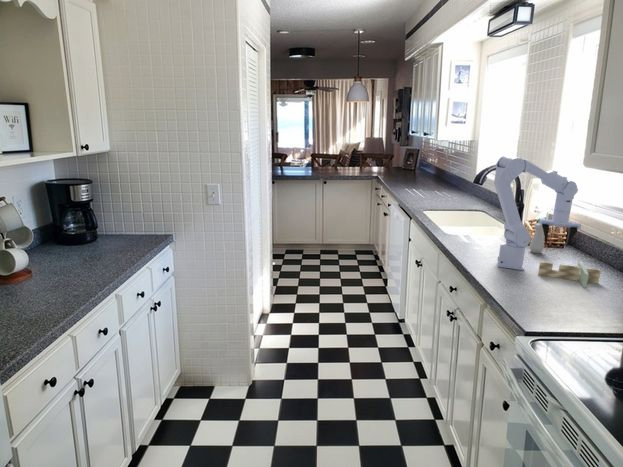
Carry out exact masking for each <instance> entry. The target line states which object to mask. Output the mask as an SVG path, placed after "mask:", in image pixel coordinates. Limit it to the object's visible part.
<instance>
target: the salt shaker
mask: <svg viewBox="0 0 623 467" xmlns="http://www.w3.org/2000/svg"><path fill="white" fill-rule="evenodd" d="M534 229H535V231H534V233H533V235H532V237H531V240H530V243H529V246H528V247H529V250H530V253H532V254H538V255H540V254H541V253H542V252H543V251H544V248H545V237H544V231H543V227H542V225H539V223H535V224H534Z"/></svg>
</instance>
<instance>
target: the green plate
mask: <svg viewBox="0 0 623 467" xmlns="http://www.w3.org/2000/svg"><path fill="white" fill-rule="evenodd" d="M577 267H580V271H579V273H580V274H581V277H580V281H579V282H580V285H581V287H582V288H585V289H586V288H587V285H588V282H587V281H588V276H589V274H588V272H587V267H586V266H585V265H584V262H583V261H578V262H577Z"/></svg>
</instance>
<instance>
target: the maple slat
mask: <svg viewBox="0 0 623 467" xmlns="http://www.w3.org/2000/svg"><path fill="white" fill-rule="evenodd" d="M553 266H554V264H553V262H547V261H539V267H538V271H537V272H538V273H537V275H538V276H543V277H544V276H545V277H550V278H558V279H565V280H571V281H577V282H580V277H581V274H580V273H579V271H580V267H578V265H577V266H576V265H569V264H563V263H562V264H559V266H558V269H553V268H554V267H553ZM586 270H587V272H588V274H589V276H588V281H587V283H591V284H599V281H600V277H601V271H602V270H601V269H599V268H598V269H597V268H589V267H586Z"/></svg>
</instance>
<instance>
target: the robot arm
mask: <svg viewBox="0 0 623 467" xmlns="http://www.w3.org/2000/svg"><path fill="white" fill-rule="evenodd" d="M495 163H496V164H495V165H494V166H495V169H496V170H495V176H494V181H493V182H494V183H493V185H494V187H495V190H496V194H497V197H498V200H499V203H500V207H501V210H502V211H501V212H502V214H503V217H504V221H505V223H504V225H503V228H504V232H503V233H504V234H503V236H504V239H505V242H504V243H503V242H502V243H500V247H499V253H498V256H497V259H496V260H497V268H498V267H499V268H505V269H506V268H507V269H512V270H513V269H514V270H519V271H520V270H521V271H524V270H525V267H524V259H525V253H526V248H527V246H528V245H530V243H531V241H532V236H531V234H530V232H529V231H528V230H527V227H526V226H525V224H524V223H523V222H522V220H521V217H520V213H519V210H518V205H517V202H516V199H515V196H514V192H513V189H512V185H511V184H512V183H513V181H514V180H515V179H517V177H518V176H520V175H521V174H522V173H524V174H525V173H528V174H530V175H532V176H534V177H536V178H538V179H540V181H541V184H542V185H544V186H545V187H548V188H550V189H552V190H553V191H554V192H555V193H556V196H555V203H554V208H553V214H552V219H545V218H544V219H543V218H540V219H539V225H542V227H543V234H544V244H547V243H548V236H549V233H550V232H549V231H550V226H552V227H553V226H554V227H561V228H568V231H567V237H566V241H565V246H566V247H569V245H570V243H571V241H572V239H573V237H574V236H575V234H576V233H577V232H578V230H581V229H582V228H581V227H582V223H581V222H580V223H578V222H572V221H570V215H571V208H572V205H573V200H574V197H575V195H576V194H578V191H579V188H578V186H577V183H576V182H575V181H573V180H568V177H567V176H562V175H560V174H558V171H556V170H548V171H546V170H544V169H543V168H540V167H539V166H537V165H536V164H534V163H532V162H531V161H529V160H527V159H523V158H522V157H516V156H511V155H507V154H506V155H502V156H501V157H500V158H499V159H498V160H497V162H495Z"/></svg>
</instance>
